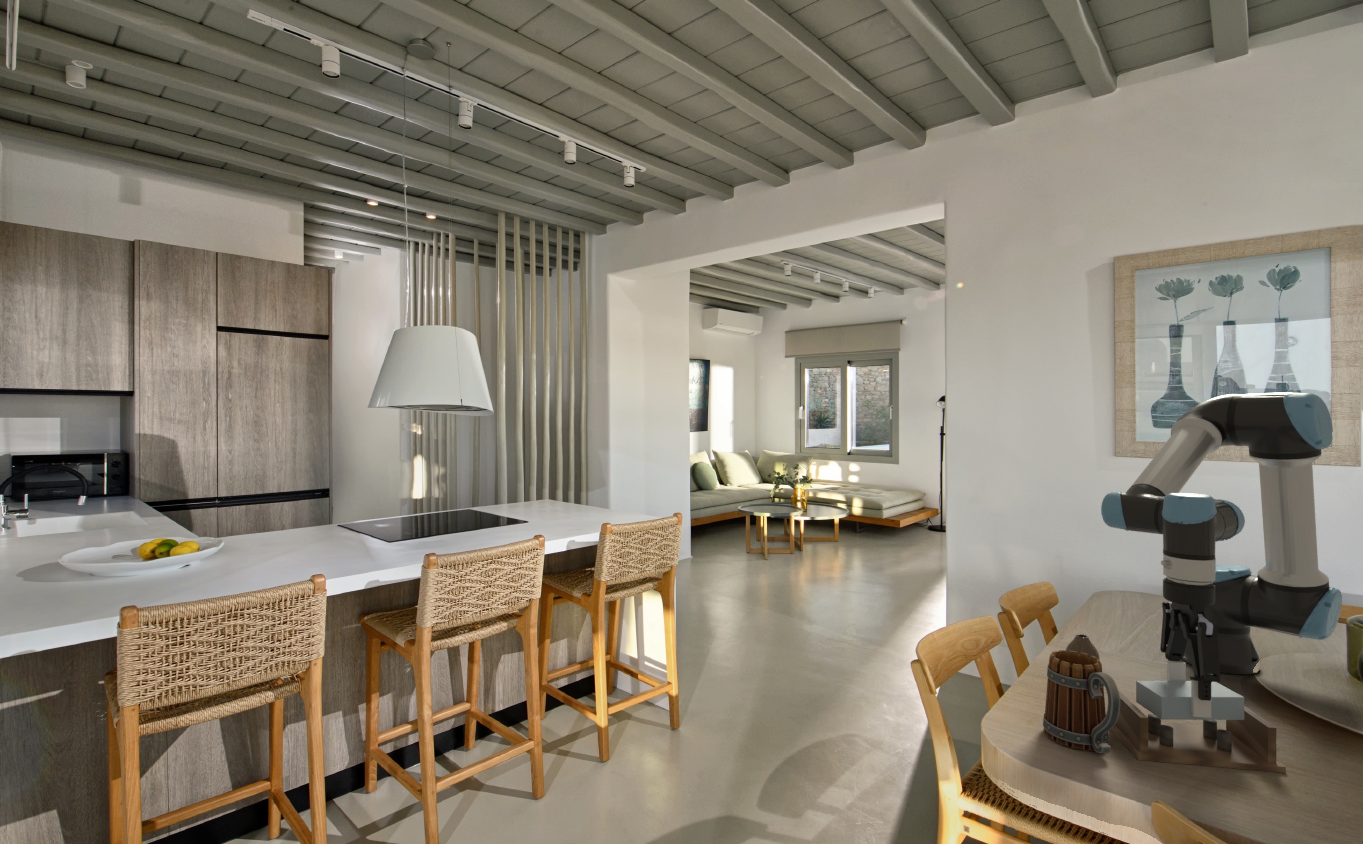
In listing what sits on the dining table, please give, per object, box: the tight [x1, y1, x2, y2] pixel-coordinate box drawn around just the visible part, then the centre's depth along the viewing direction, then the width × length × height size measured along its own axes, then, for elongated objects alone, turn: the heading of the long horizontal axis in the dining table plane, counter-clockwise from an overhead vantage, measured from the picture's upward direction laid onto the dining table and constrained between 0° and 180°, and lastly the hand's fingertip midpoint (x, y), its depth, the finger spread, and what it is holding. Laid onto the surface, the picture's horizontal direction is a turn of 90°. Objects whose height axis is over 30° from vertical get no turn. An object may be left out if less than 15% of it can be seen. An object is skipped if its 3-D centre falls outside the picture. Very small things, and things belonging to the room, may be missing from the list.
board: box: [1135, 680, 1245, 721], centre depth 120 cm, size 14×7×4 cm, turn 88°
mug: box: [1042, 649, 1120, 754], centre depth 121 cm, size 16×11×15 cm
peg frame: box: [1110, 689, 1287, 774], centre depth 120 cm, size 22×14×7 cm, turn 78°
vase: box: [1065, 633, 1101, 661], centre depth 154 cm, size 7×7×9 cm
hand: (1188, 705), depth 120 cm, fingers closed on board, 8 cm apart
